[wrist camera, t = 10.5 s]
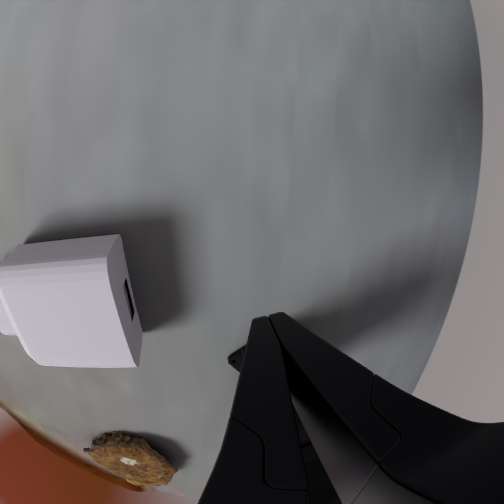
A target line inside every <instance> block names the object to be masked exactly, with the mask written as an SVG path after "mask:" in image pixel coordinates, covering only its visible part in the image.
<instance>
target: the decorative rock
mask: <svg viewBox="0 0 504 504" xmlns="http://www.w3.org/2000/svg"><path fill="white" fill-rule="evenodd" d="M92 442H93V443H92V444H91V448H84V449H83V451H84V452H85V453H88V454H90V455H91V456H92V458H93V460H94V461H96V462H97V463H99V464H100V465H102V466H104V467H105V468H107V469H109V470H112V471H113V472H115V473H117V474H119V475H122V476H124V477H125V478H126V480H127V481H128V482H130V483H131V484H133V485H138V486H140V485H141V486H144V485H155V486H159V485H163V484H164V485H166V484H168V482H170V481H171V479H172V476H173V474H174V473H176V472H177V471H178V469H177V468H175V467H174V466H173V465H171V464H170V463H168V462H166V459H165V457H164V456H161V455H160V454H159V453H157V451H155V450H154V449H151V447H150V446H149V444H148V443H147V442H146V441H145V439H144V438H142V439H139V438H137V437H131V436H124V435H122V433H121V432H119V431H113V434H112V436H109V435H107V434H106V433H104V435H103V438H101V439H100V440H97V439H96V440H93V441H92Z"/></svg>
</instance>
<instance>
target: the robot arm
mask: <svg viewBox="0 0 504 504" xmlns="http://www.w3.org/2000/svg"><path fill="white" fill-rule="evenodd" d="M233 359H235V360H233ZM228 363H229V364H230V365H231V366H233V367H234V368H235V369H236V370H237V371H239V372H240V375H239V379H238V383H237V388H236V392H235V396H234V400H233V404H232V409H231V413H230V418H229V420H228V424H227V429H226V432H225V436H224V439H223V443H222V446H221V449H220V452H219V455H218V457H217V460H216V463H215V465H214V468H213V470H212V473H211V475H210V477H209V479H208V482H207V484H206V486H205V489H204V491H203V493H202V495H201V497H200V500H199V502H198V504H504V422H499V423H479V422H473V421H469V420H466V419H463V418H461V417H458V416H456V415H454V414H451V413H449V412H447V411H444V410H442V409H440V408H438V407H436V406H433V405H431V404H429V403H427V402H425V401H423V400H420V399H418V398H416V397H414V396H412V395H410V394H409V393H407V392H405V391H403V390H401V389H399V388H398V387H396V386H394V385H393V384H391V383H389V382H388V381H386V380H384V379H383V378H381V377H380V376H378V375H377V374H374V373H373V372H372V371H370V370H369V369H367V368H366V367H364V366H363V365H361V364H360V363H358V362H356V361H355V360H353V359H352V358H350V357H349V356H347V355H346V354H344V353H343V352H341V351H340V350H338V349H337V348H335V347H334V346H332V345H331V344H329V343H328V342H326V341H325V340H323V339H322V338H320V337H319V336H318V335H316V334H315V333H313V332H312V331H310V330H309V329H307V328H306V327H304V326H303V325H301V324H300V323H298V322H297V321H296V320H294V319H293V318H291V317H290V316H288V315H287V314H285V313H284V312H278V313H274V314H270V315H269V316H268V317H267V316H262V317H258V318H254V319H253V320H252V323H251V327H250V332H249V336H248V341H247V345H246V346H245V347H243V348H242V349H240V350H238V351H237V352H235V353H233V354H231V355H230V356H229V357H228ZM373 374H374V375H373Z"/></svg>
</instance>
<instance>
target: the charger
mask: <svg viewBox="0 0 504 504" xmlns="http://www.w3.org/2000/svg"><path fill="white" fill-rule="evenodd" d="M126 278H127V283H128V287H129V292H130V296H131V300H132V304H133V308H134V316H133V321H132V320H131V319H132V311H131V307H130V303H129V299H128V295H127V291H126V287H125V283H124V282H125V279H126ZM0 332H1V333H3V334H4V335H17V336H18V338H19V340H20V342H21V344H22V345H23V347H24V349H25V351H26V353H27V354H28V355H29V356H30V357H31V358H32V359H34V360H35V361H36V362H37V363H38V364H40V365H45V366H62V367H93V368H124V367H139V361H140V353H141V345H142V328H141V324H140V320H139V316H138V312H137V308H136V304H135V300H134V296H133V292H132V287H131V283H130V278H129V274H128V269H127V264H126V259H125V254H124V248H123V243H122V238H121V236H120V234H114V235H104V236H94V237H84V238H75V239H66V240H57V241H48V242H39V243H31V244H23V245H18V246H17V247H16V248H15V249H14V250H13V251H12V252H11V253H10V254H9V255H8V256H7V257H6V258H5V259H4V260H3V261H2V262H1V263H0Z"/></svg>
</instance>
